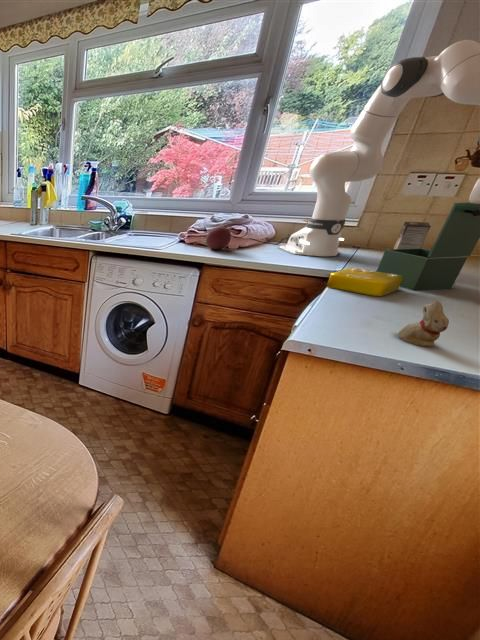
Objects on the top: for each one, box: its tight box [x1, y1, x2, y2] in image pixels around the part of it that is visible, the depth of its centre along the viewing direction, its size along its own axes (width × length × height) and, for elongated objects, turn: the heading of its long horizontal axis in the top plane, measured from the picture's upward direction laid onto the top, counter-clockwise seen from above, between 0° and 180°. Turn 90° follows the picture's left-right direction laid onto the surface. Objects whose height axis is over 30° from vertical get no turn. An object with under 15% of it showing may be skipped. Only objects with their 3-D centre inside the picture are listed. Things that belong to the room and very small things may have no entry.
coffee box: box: [393, 221, 432, 249], centre depth 156 cm, size 9×6×16 cm
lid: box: [428, 201, 480, 257], centre depth 126 cm, size 16×13×5 cm
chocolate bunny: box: [397, 300, 450, 348], centre depth 100 cm, size 6×8×10 cm
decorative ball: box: [205, 226, 232, 251], centre depth 197 cm, size 10×10×10 cm
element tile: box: [326, 267, 403, 297], centre depth 139 cm, size 15×15×5 cm
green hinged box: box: [376, 247, 468, 291], centre depth 141 cm, size 15×13×10 cm
